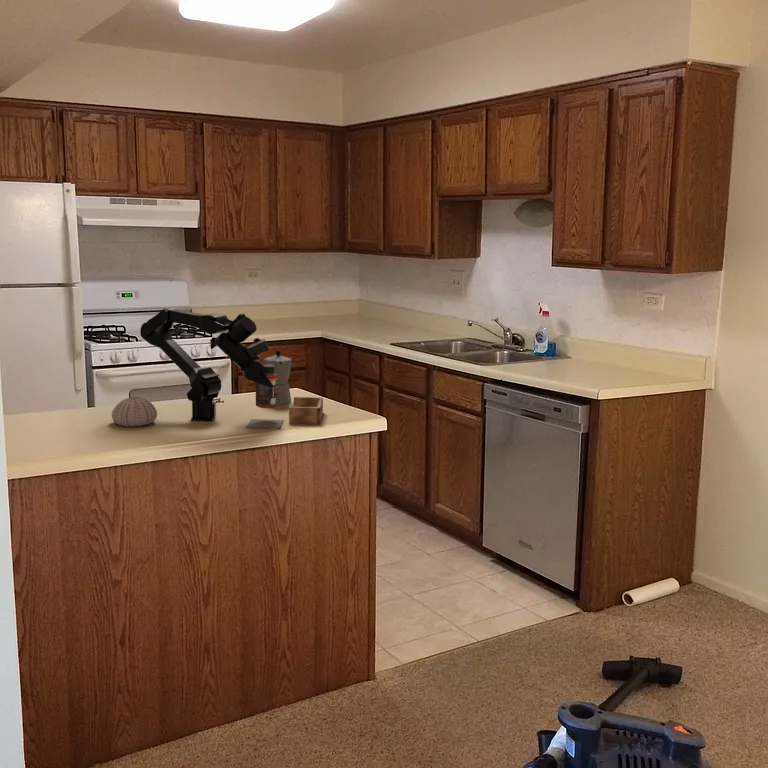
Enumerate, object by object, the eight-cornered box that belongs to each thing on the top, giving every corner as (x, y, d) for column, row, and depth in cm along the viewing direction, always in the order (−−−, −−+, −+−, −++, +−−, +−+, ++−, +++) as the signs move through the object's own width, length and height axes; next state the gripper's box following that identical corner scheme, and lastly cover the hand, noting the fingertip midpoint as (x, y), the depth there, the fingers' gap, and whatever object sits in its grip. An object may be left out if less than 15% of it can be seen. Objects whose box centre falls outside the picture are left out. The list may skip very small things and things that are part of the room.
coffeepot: (294, 405, 282) (295, 353, 278) (266, 406, 279) (266, 353, 276) (287, 396, 296) (287, 346, 293) (261, 397, 294) (261, 346, 291)
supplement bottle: (279, 408, 255) (280, 366, 253) (258, 409, 253) (257, 367, 250) (275, 403, 261) (275, 363, 259) (253, 404, 259) (253, 363, 257)
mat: (246, 428, 249) (246, 426, 249) (251, 420, 259) (251, 419, 259) (279, 428, 250) (279, 427, 250) (283, 421, 260) (283, 419, 259)
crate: (289, 423, 257) (289, 407, 256) (293, 411, 273) (293, 396, 272) (319, 423, 257) (320, 408, 256) (322, 412, 273) (323, 397, 272)
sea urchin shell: (113, 430, 243) (112, 403, 242) (110, 419, 256) (109, 394, 254) (160, 427, 248) (159, 400, 246) (154, 417, 260) (154, 392, 259)
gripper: (255, 334, 243) (293, 371, 247) (251, 327, 261) (286, 361, 265) (228, 361, 243) (266, 397, 247) (226, 352, 261) (262, 386, 265)
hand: (271, 384), depth 256 cm, fingers closed on supplement bottle, 7 cm apart
